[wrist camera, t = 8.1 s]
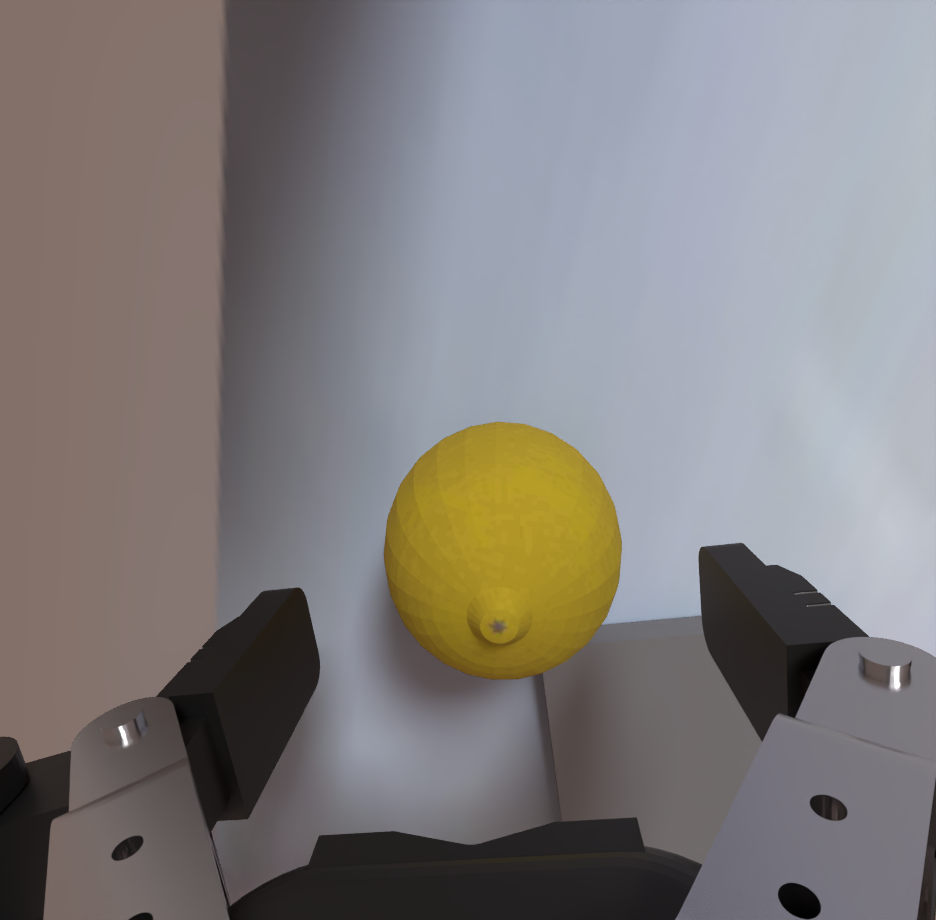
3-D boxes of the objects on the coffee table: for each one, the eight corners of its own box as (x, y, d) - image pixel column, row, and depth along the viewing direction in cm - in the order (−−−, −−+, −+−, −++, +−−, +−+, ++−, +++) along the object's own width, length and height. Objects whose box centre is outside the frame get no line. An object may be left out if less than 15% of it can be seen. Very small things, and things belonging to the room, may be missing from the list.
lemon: (599, 399, 17) (673, 481, 9) (589, 573, 19) (645, 767, 11) (411, 397, 17) (334, 474, 10) (415, 567, 19) (351, 752, 11)
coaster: (537, 630, 19) (539, 648, 18) (826, 604, 18) (844, 621, 17) (565, 848, 21) (568, 874, 20) (824, 834, 21) (839, 860, 20)
